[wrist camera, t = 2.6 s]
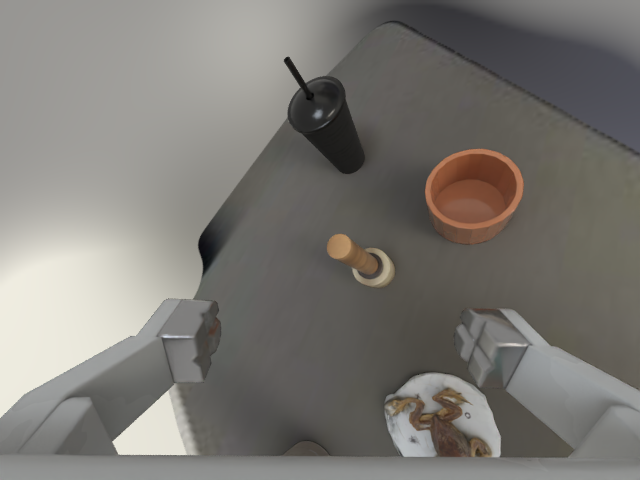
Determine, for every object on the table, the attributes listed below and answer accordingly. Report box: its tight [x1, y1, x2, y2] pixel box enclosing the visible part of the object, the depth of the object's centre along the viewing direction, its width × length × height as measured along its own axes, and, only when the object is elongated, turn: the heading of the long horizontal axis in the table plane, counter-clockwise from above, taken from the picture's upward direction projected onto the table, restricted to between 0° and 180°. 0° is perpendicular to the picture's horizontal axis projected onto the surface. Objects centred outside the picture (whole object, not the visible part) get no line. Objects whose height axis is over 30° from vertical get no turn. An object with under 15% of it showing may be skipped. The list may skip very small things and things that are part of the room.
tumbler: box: [425, 149, 524, 244], centre depth 32 cm, size 9×9×7 cm
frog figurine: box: [384, 372, 501, 457], centre depth 29 cm, size 12×12×4 cm
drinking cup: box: [284, 57, 364, 174], centre depth 36 cm, size 8×8×20 cm
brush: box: [327, 234, 395, 288], centre depth 32 cm, size 5×5×15 cm
